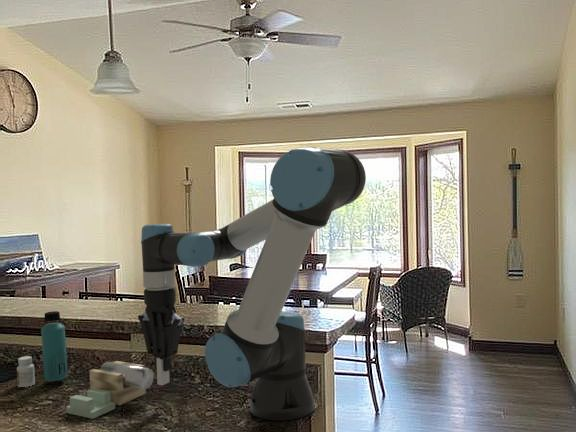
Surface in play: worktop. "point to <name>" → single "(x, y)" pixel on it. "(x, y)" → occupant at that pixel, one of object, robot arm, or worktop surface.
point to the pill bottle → (25, 372)
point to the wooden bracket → (115, 384)
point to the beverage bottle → (54, 348)
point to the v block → (91, 404)
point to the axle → (131, 374)
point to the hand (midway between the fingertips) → (163, 383)
